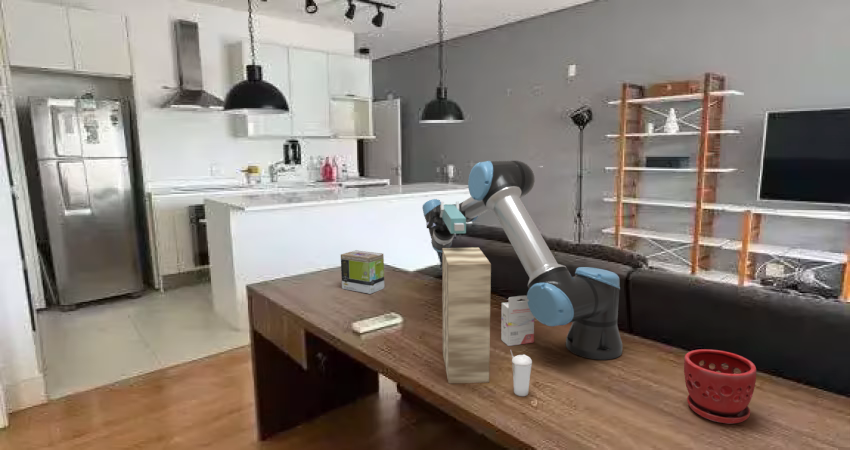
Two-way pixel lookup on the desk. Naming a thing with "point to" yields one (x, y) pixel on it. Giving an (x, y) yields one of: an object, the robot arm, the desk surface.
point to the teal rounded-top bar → (454, 219)
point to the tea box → (362, 271)
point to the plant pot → (719, 385)
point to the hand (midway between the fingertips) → (450, 205)
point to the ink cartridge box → (517, 322)
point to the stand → (466, 314)
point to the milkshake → (521, 374)
